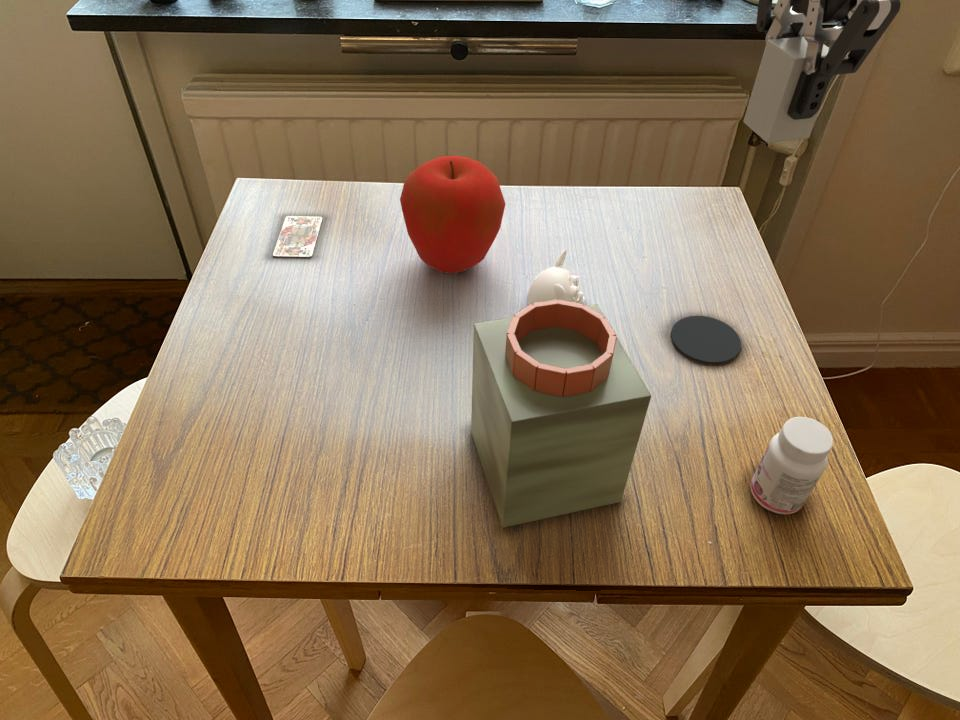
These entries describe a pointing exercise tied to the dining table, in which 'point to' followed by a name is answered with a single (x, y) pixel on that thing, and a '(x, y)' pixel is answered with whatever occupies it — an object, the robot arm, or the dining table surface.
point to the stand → (553, 426)
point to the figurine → (555, 285)
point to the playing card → (298, 236)
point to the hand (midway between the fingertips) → (784, 103)
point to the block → (779, 92)
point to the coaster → (705, 340)
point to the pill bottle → (792, 465)
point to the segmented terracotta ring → (552, 376)
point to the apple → (452, 212)
